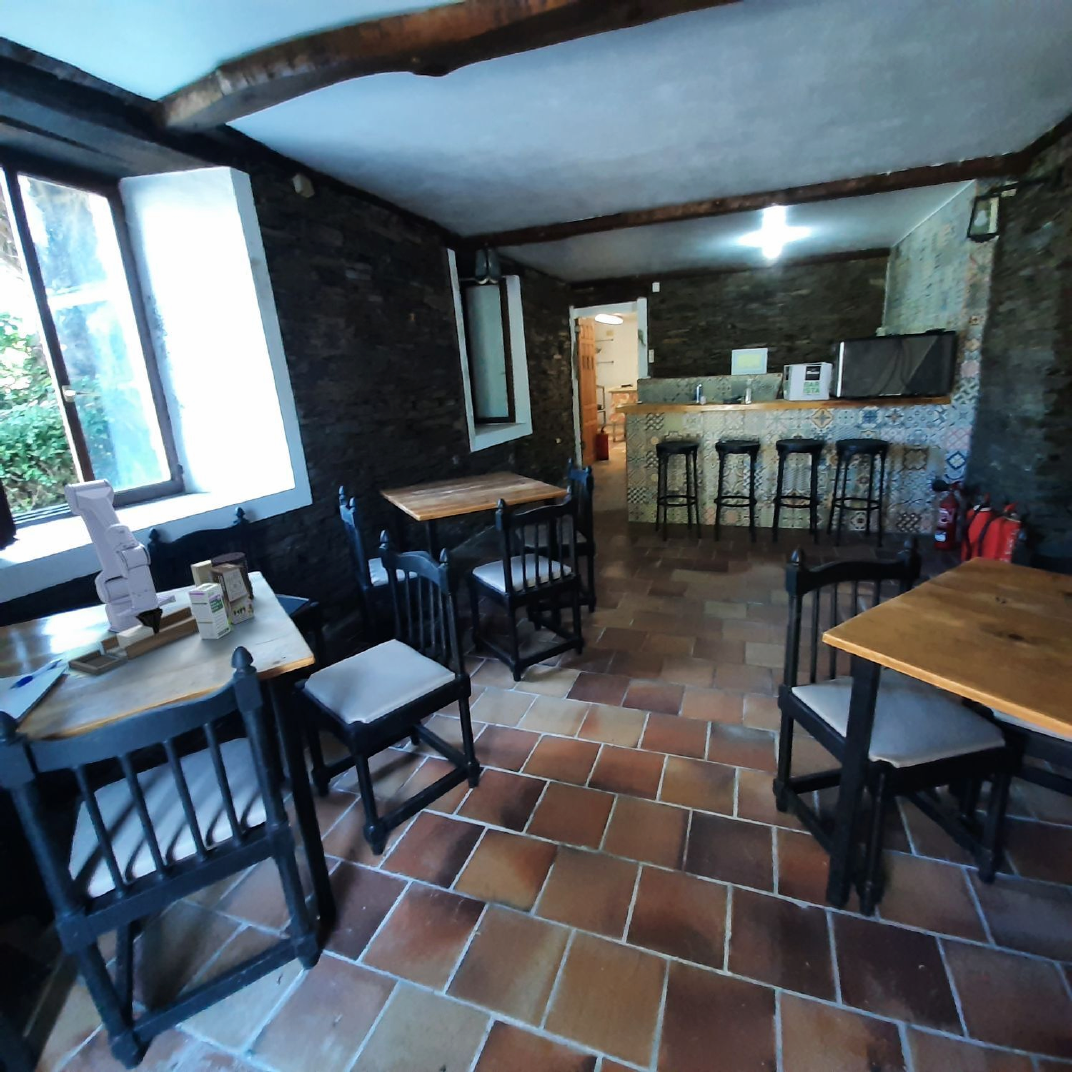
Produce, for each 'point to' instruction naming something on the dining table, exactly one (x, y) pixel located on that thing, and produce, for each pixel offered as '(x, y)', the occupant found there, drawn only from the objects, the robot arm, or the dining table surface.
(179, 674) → the dining table surface
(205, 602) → the syrup box
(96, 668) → the tray
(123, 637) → the cream block
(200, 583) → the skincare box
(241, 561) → the storage jar
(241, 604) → the coffee box
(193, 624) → the walled channel
